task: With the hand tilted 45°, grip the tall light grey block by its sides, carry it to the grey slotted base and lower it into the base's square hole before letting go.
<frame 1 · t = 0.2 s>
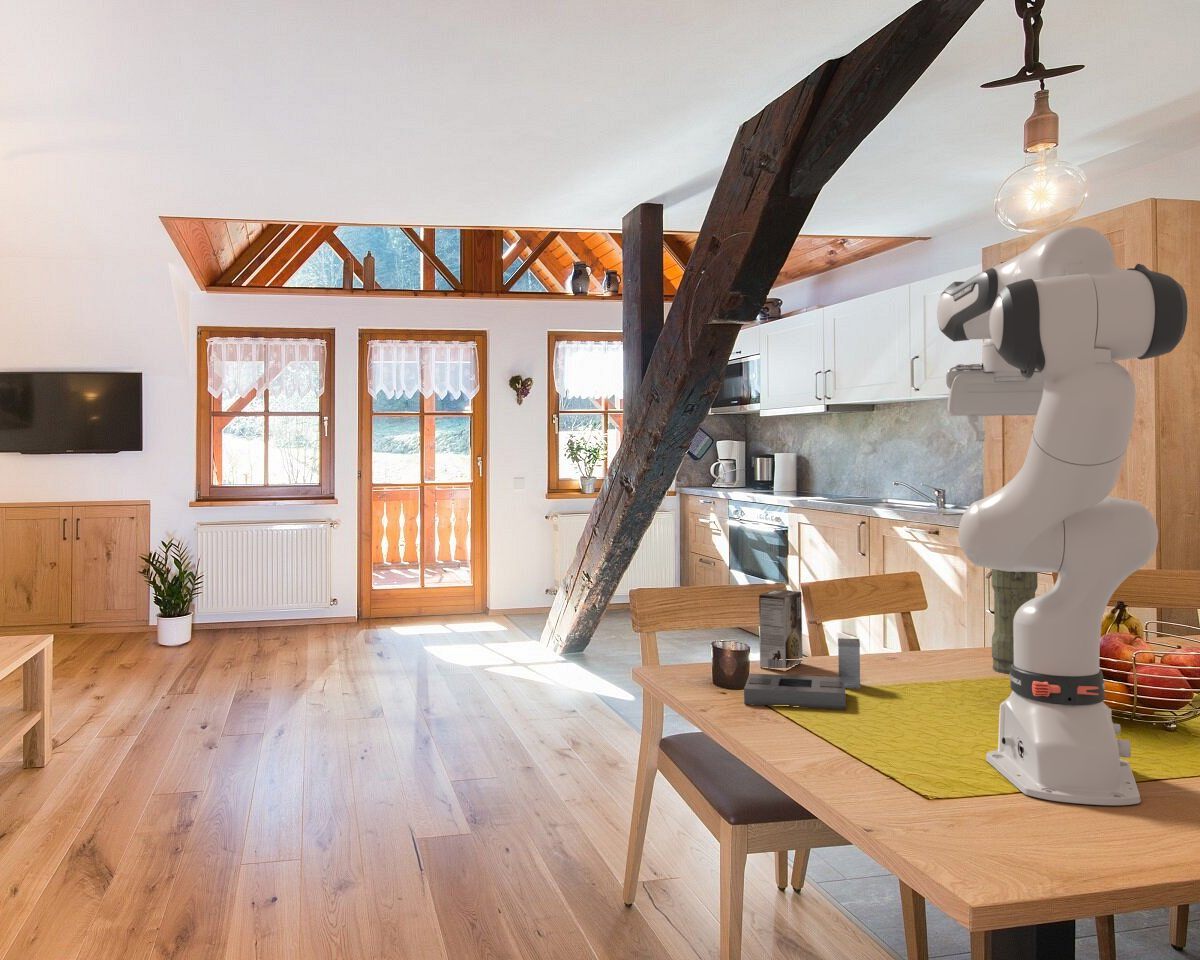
hand: (1008, 441, 158), 48 cm above the table, tool pointing down, fingers open, 8 cm apart
grey slotted base: (795, 698, 167), on the table
coffee box: (781, 667, 194), on the table
light grey block: (849, 685, 176), on the table
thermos: (1014, 671, 187), on the table
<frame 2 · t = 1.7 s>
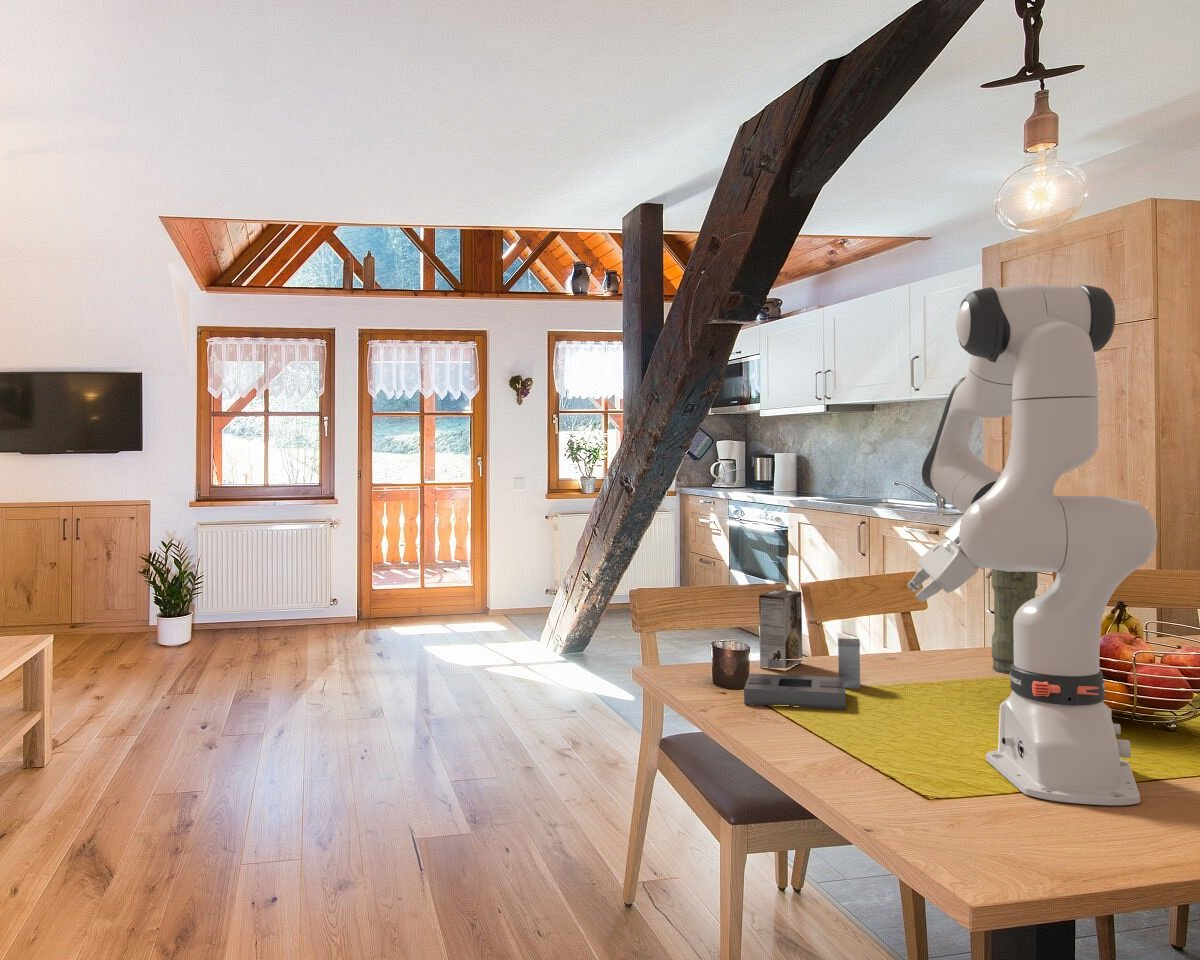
hand: (913, 594, 173), 18 cm above the table, tool tilted 45°, fingers open, 8 cm apart
nothing on the table moved.
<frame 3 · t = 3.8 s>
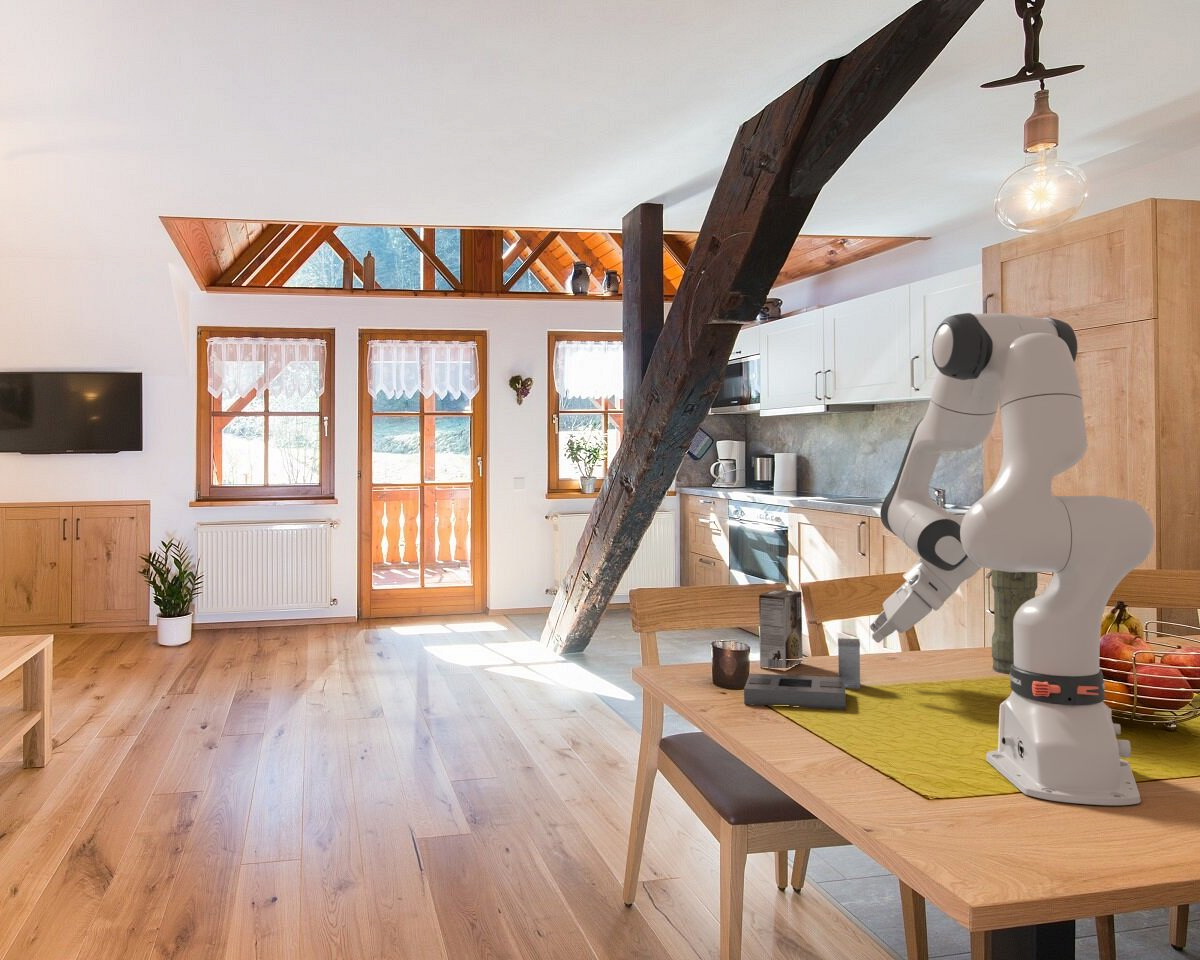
hand: (873, 634, 175), 10 cm above the table, tool tilted 45°, fingers open, 8 cm apart
nothing on the table moved.
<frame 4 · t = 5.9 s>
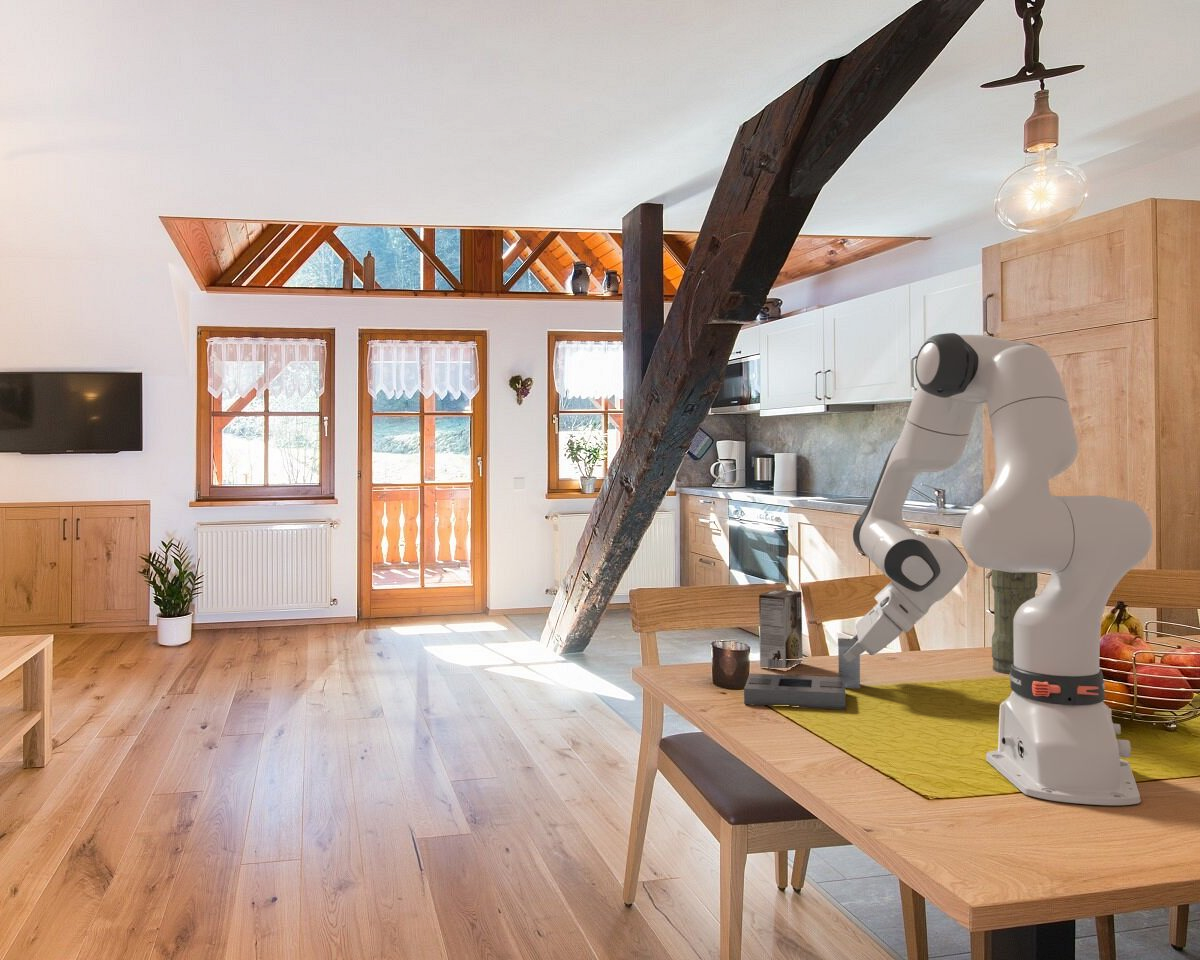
hand: (845, 656, 176), 6 cm above the table, tool tilted 45°, fingers closed on light grey block, 4 cm apart
light grey block: (849, 685, 176), on the table, touching gripper
everything else where it was.
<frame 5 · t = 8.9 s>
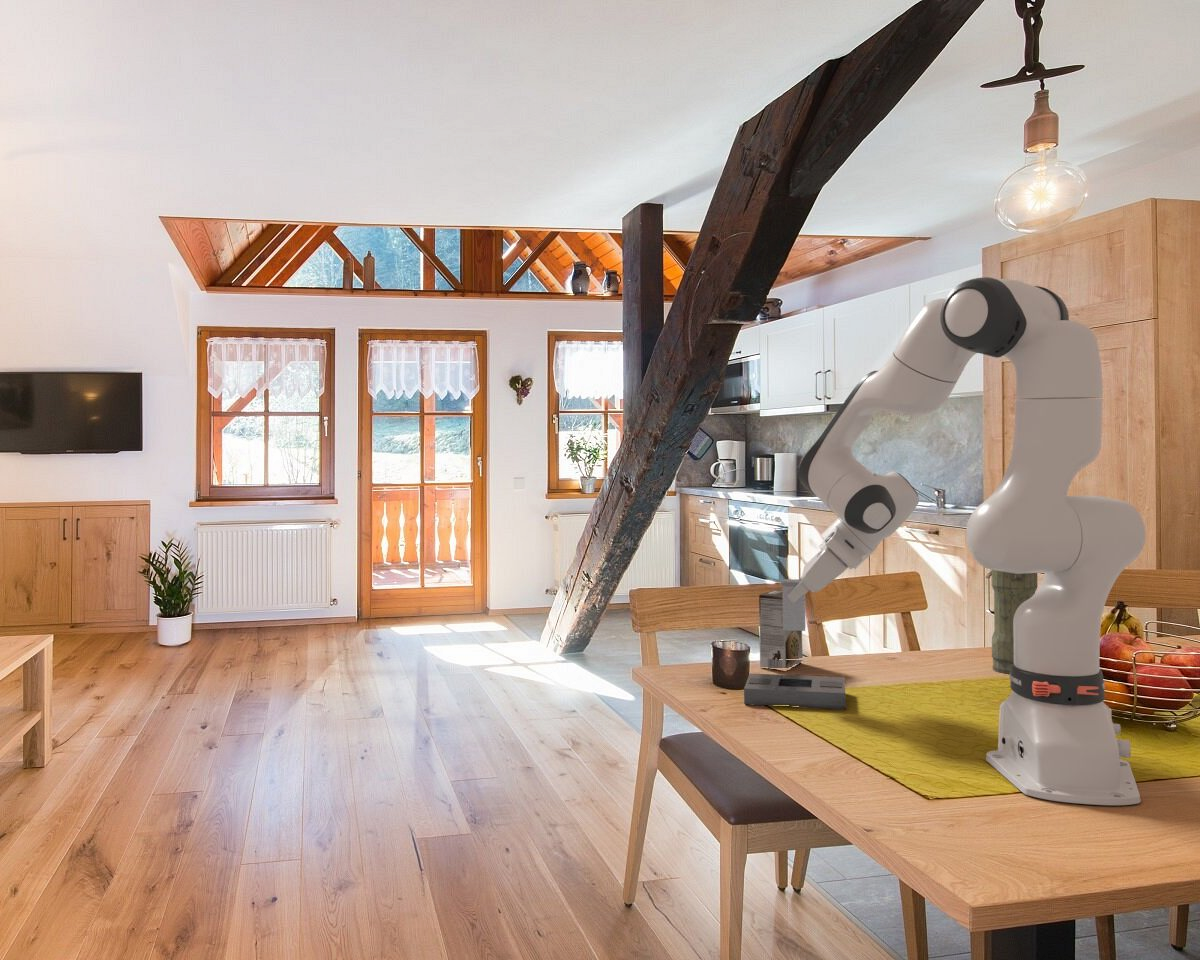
hand: (790, 597, 167), 19 cm above the table, tool tilted 45°, fingers closed on light grey block, 4 cm apart
light grey block: (794, 628, 167), point 13 cm above the table, touching gripper
everything else where it was.
when the fingers open (7 cm above the table, at t = 12.0 s): light grey block stays where it is, resting in grey slotted base.
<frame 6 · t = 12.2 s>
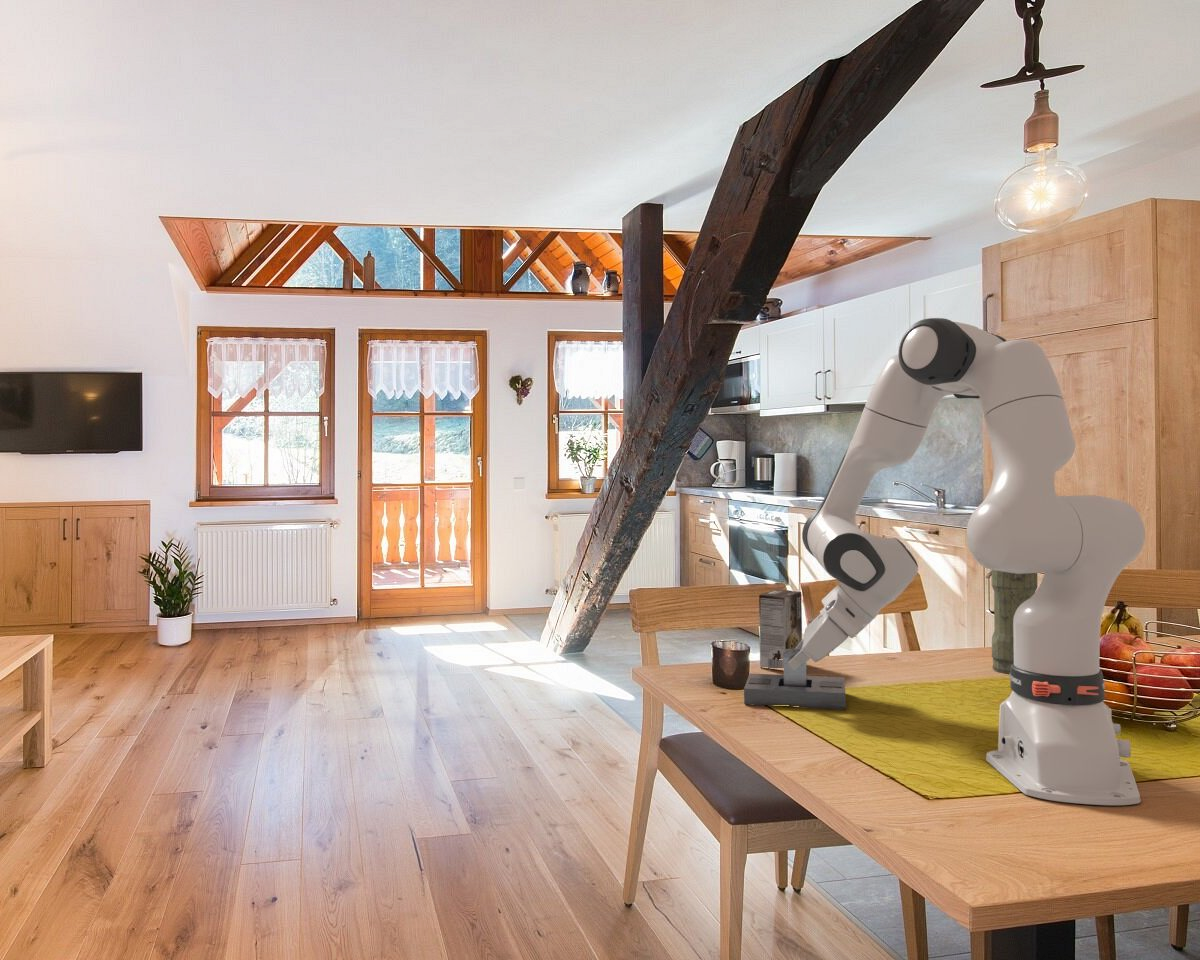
hand: (791, 662, 167), 7 cm above the table, tool tilted 45°, fingers open, 6 cm apart
light grey block: (795, 699, 167), resting in grey slotted base
everything else where it was.
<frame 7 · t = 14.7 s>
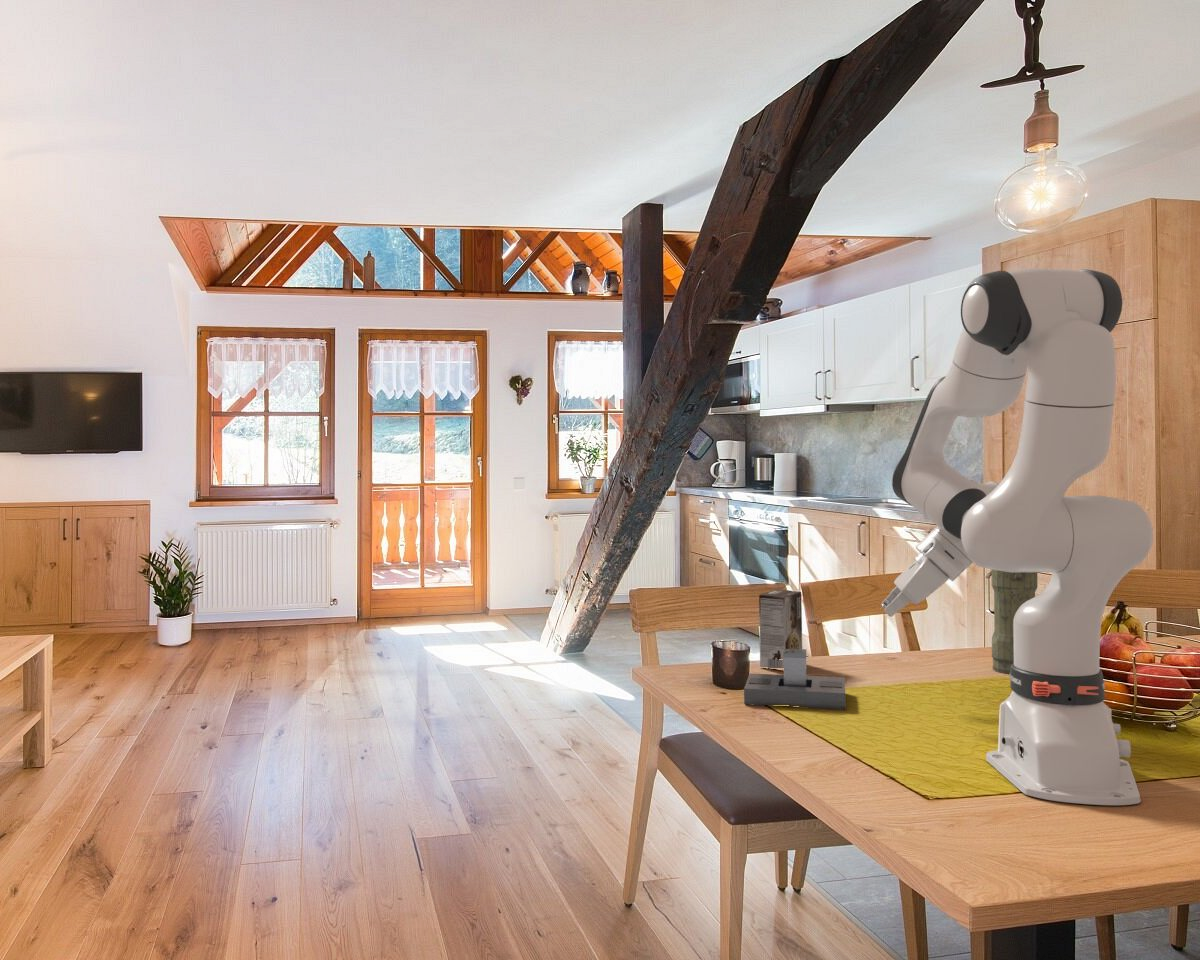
hand: (885, 610, 163), 17 cm above the table, tool tilted 45°, fingers open, 8 cm apart
nothing on the table moved.
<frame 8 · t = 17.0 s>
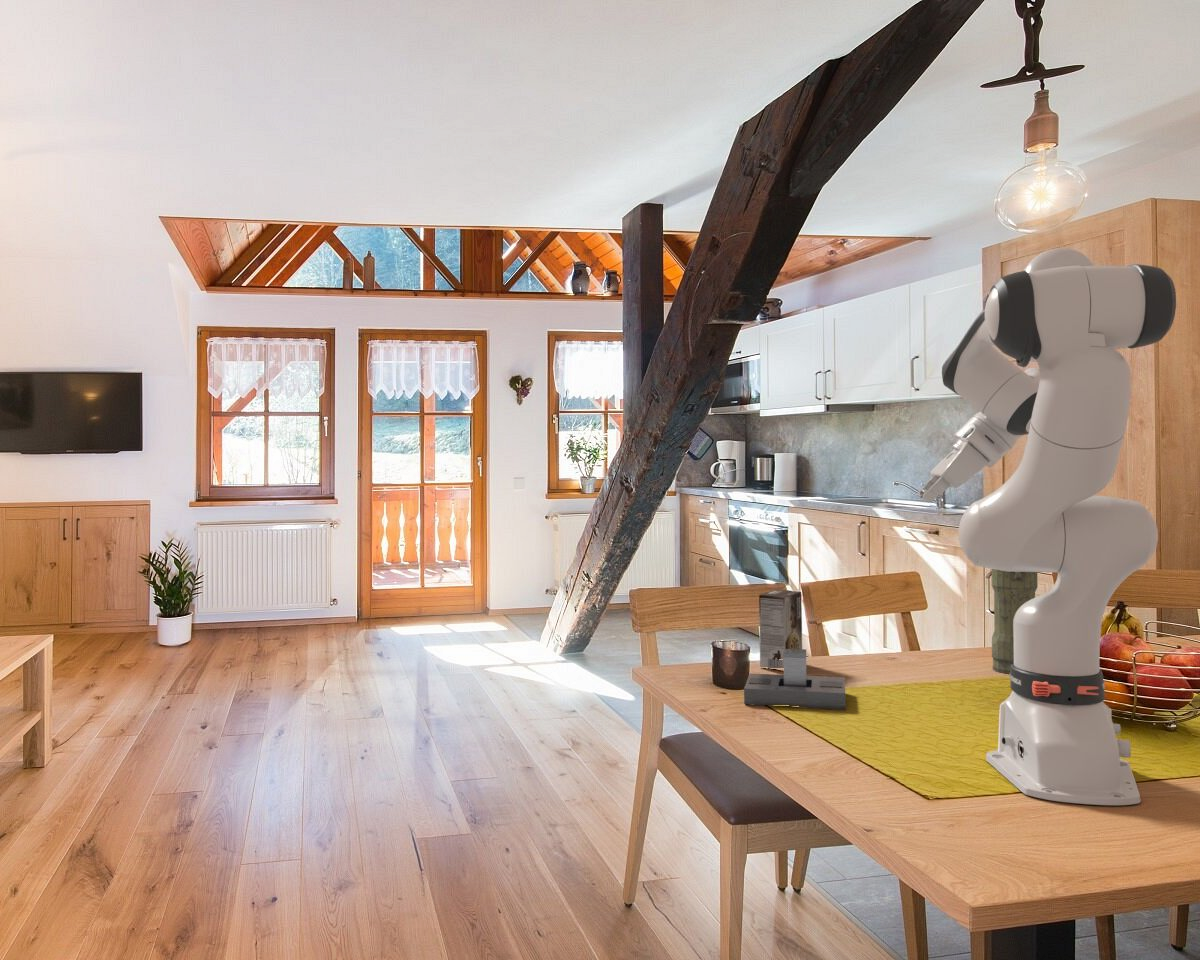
hand: (922, 498, 164), 37 cm above the table, tool tilted 45°, fingers open, 8 cm apart
nothing on the table moved.
at the end: light grey block 0.0 cm off-centre on the grey slotted base, point 0.0 cm above the grey slotted base's base; light grey block tilted 0°; the gripper is holding nothing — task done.
